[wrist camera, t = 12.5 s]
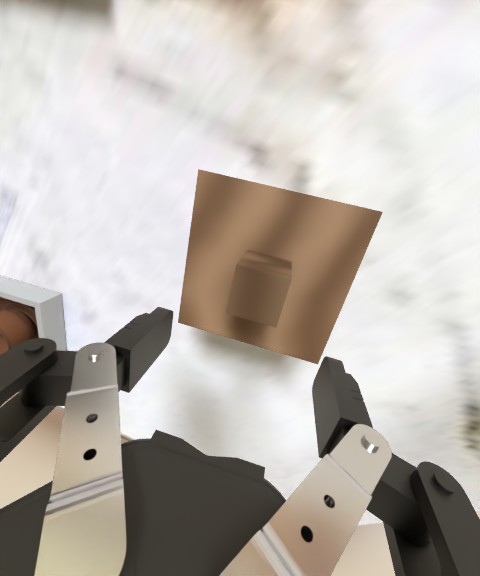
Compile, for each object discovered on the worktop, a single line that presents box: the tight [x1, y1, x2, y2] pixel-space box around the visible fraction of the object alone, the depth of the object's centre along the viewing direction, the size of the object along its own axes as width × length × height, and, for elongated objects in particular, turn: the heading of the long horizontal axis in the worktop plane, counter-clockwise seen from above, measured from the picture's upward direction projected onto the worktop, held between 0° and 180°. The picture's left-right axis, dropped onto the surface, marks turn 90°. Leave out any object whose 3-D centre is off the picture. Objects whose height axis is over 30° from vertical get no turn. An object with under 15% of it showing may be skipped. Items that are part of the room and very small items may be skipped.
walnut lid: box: [178, 169, 382, 364], centre depth 21 cm, size 15×15×6 cm
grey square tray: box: [0, 275, 67, 351], centre depth 44 cm, size 18×18×4 cm
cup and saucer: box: [0, 297, 39, 355], centre depth 43 cm, size 12×12×6 cm
